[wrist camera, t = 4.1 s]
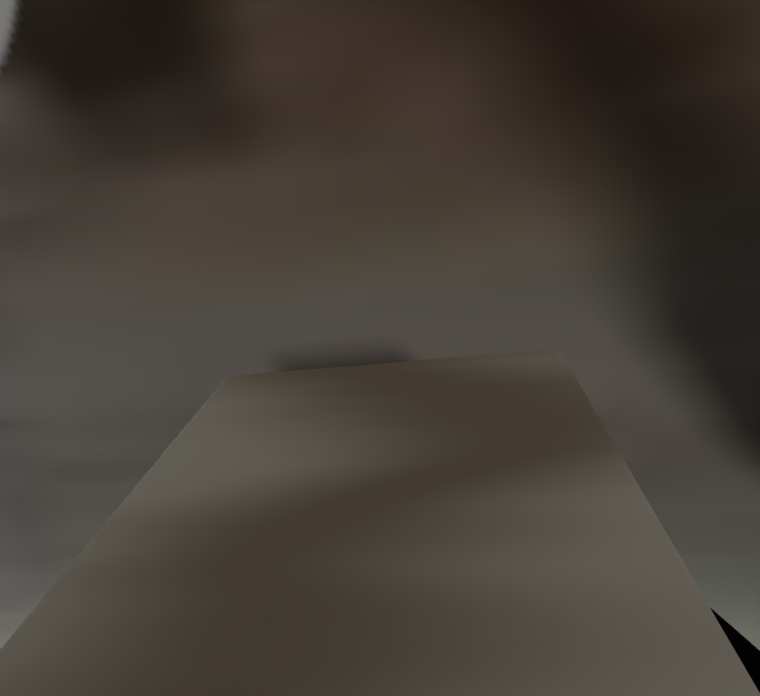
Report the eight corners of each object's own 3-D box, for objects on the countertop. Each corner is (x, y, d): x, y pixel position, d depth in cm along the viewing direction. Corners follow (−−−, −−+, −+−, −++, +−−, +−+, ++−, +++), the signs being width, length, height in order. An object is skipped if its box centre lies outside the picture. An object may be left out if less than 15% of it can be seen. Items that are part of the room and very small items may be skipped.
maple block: (559, 349, 7) (802, 764, 2) (555, 598, 9) (685, 1085, 4) (227, 375, 8) (-69, 733, 3) (291, 601, 10) (166, 1024, 5)
